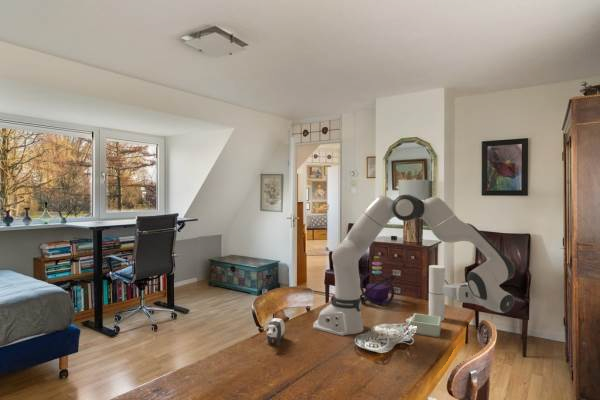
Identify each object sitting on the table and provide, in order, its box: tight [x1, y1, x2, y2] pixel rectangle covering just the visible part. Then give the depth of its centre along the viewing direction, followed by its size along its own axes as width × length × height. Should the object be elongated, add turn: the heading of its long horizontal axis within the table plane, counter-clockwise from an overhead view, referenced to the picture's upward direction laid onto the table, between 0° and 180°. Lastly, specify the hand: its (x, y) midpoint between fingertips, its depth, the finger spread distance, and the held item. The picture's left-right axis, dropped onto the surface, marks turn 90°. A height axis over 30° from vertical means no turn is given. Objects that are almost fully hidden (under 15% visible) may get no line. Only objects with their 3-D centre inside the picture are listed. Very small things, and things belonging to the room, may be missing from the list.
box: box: [409, 312, 442, 338], centre depth 162 cm, size 12×12×5 cm
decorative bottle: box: [360, 255, 397, 306], centre depth 203 cm, size 22×21×25 cm
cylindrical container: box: [428, 264, 446, 322], centre depth 176 cm, size 7×7×25 cm
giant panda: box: [266, 317, 286, 347], centre depth 148 cm, size 15×6×10 cm, turn 169°
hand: (454, 284), depth 164 cm, fingers open, 8 cm apart
